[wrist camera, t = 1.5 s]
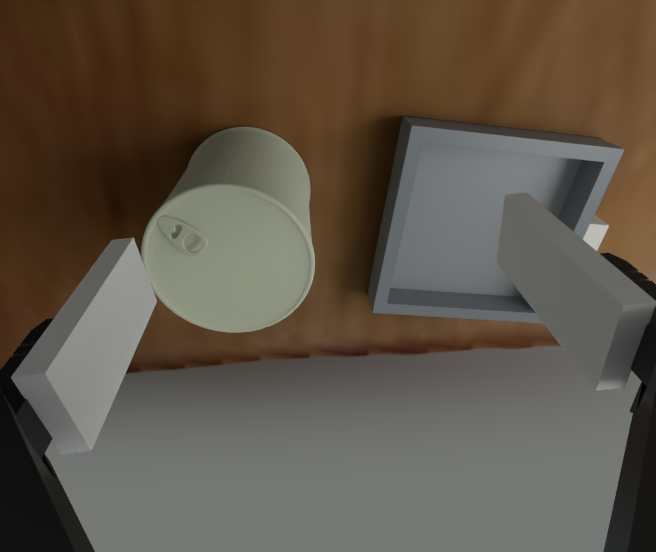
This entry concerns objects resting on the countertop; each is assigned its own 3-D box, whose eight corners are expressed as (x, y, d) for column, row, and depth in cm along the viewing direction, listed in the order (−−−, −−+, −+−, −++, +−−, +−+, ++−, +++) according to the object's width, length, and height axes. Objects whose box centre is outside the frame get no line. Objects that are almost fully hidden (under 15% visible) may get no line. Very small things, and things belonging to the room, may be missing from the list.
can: (233, 97, 30) (202, 146, 20) (335, 182, 34) (352, 260, 23) (162, 196, 33) (103, 281, 23) (261, 263, 37) (248, 363, 27)
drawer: (367, 292, 39) (372, 312, 36) (402, 115, 31) (412, 125, 29) (552, 305, 41) (569, 325, 38) (628, 141, 33) (656, 152, 31)
